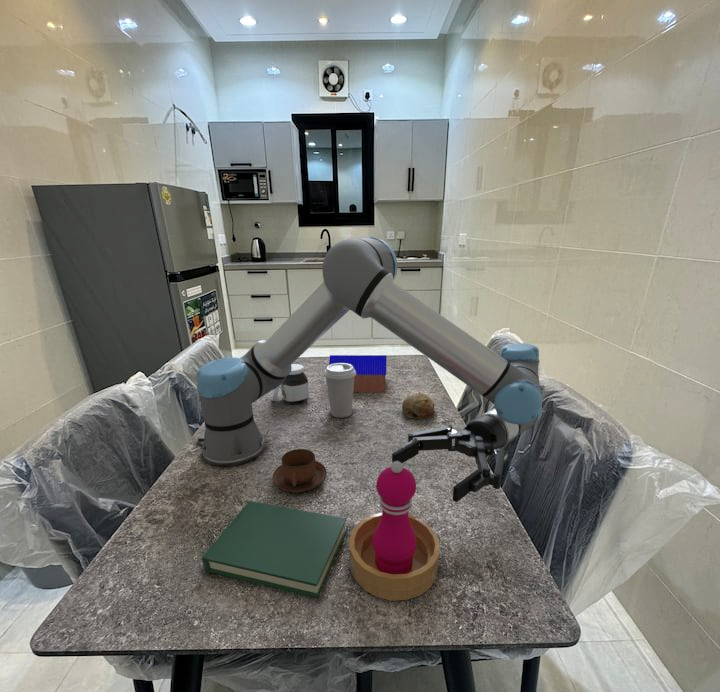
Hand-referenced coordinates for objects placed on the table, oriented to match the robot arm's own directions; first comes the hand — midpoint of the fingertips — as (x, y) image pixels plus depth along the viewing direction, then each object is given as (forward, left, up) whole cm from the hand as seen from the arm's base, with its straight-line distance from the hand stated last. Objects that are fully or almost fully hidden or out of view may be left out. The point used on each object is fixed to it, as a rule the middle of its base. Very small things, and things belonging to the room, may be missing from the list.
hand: (421, 476), depth 66 cm
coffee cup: (-30, +46, -13) cm, 57 cm away
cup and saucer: (-28, +10, -13) cm, 33 cm away
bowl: (-3, -8, -13) cm, 15 cm away
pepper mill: (-3, -8, -13) cm, 15 cm away
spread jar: (-50, +51, -13) cm, 73 cm away
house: (-31, +69, -13) cm, 77 cm away
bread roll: (-7, +52, -13) cm, 54 cm away
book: (-23, -10, -13) cm, 28 cm away
